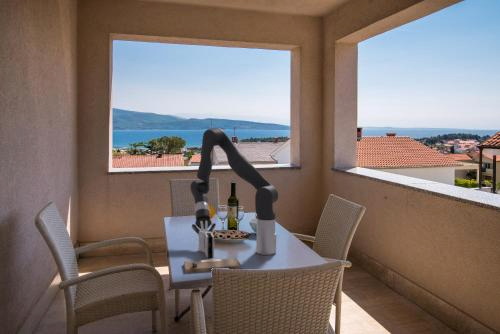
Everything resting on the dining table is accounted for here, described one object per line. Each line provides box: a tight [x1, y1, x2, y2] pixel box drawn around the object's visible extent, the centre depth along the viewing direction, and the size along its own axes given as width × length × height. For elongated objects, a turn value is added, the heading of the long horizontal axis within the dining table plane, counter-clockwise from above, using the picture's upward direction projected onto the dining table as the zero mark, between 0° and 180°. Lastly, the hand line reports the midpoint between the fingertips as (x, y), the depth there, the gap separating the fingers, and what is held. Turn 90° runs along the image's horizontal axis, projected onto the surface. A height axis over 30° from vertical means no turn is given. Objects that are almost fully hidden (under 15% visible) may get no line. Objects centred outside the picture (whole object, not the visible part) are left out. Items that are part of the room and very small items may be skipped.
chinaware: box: [249, 217, 257, 235], centre depth 223 cm, size 15×15×8 cm
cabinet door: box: [183, 257, 242, 274], centre depth 166 cm, size 24×10×3 cm, turn 104°
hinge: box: [198, 230, 216, 259], centre depth 184 cm, size 14×5×10 cm, turn 26°
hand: (205, 240), depth 189 cm, fingers closed
